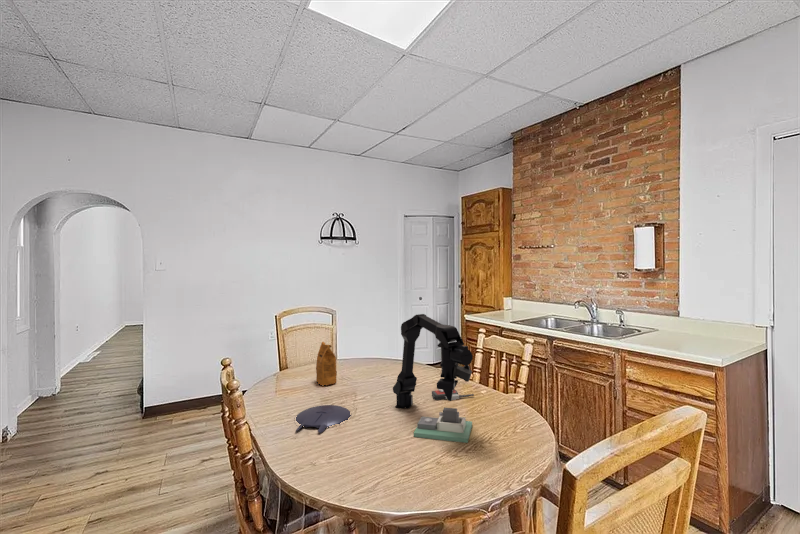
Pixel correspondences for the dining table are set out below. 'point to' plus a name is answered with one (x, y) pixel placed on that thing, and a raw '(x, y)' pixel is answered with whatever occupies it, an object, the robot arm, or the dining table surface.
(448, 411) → the plug
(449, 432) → the board
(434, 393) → the walkie-talkie
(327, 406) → the toy spaceship
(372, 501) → the dining table surface
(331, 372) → the coffee package
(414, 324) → the robot arm
